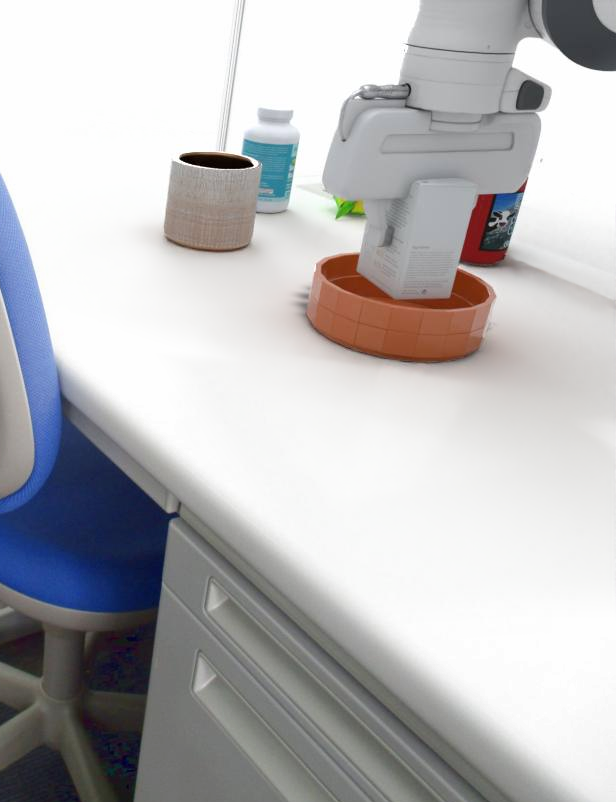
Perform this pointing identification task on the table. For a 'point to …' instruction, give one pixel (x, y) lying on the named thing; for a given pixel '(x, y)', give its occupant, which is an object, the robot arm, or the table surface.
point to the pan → (397, 314)
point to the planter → (212, 200)
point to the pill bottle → (273, 155)
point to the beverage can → (491, 227)
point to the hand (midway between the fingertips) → (411, 243)
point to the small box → (421, 240)
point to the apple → (348, 207)
